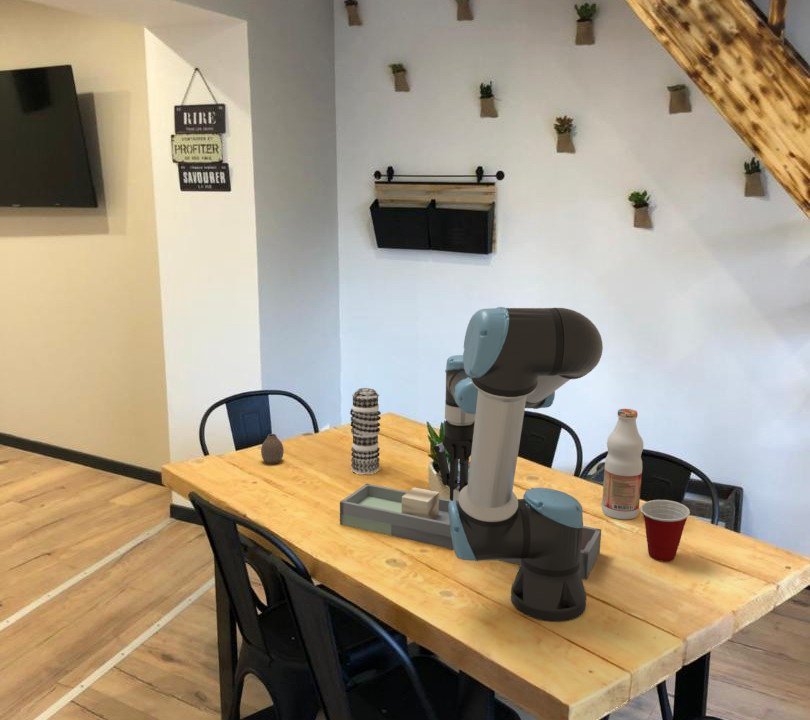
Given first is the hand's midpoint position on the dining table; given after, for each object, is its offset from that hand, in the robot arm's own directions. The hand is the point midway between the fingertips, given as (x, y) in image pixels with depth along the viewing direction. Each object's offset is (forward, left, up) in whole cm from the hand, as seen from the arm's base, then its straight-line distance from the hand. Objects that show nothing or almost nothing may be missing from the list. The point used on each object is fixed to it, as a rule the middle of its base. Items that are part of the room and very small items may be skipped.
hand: (457, 513), depth 182 cm
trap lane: (0, -2, -6) cm, 6 cm away
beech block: (0, +10, -3) cm, 10 cm away
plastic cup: (+12, -46, -6) cm, 48 cm away
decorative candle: (+30, +42, -6) cm, 52 cm away
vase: (+23, +71, -6) cm, 75 cm away
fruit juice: (+33, -33, -6) cm, 47 cm away
